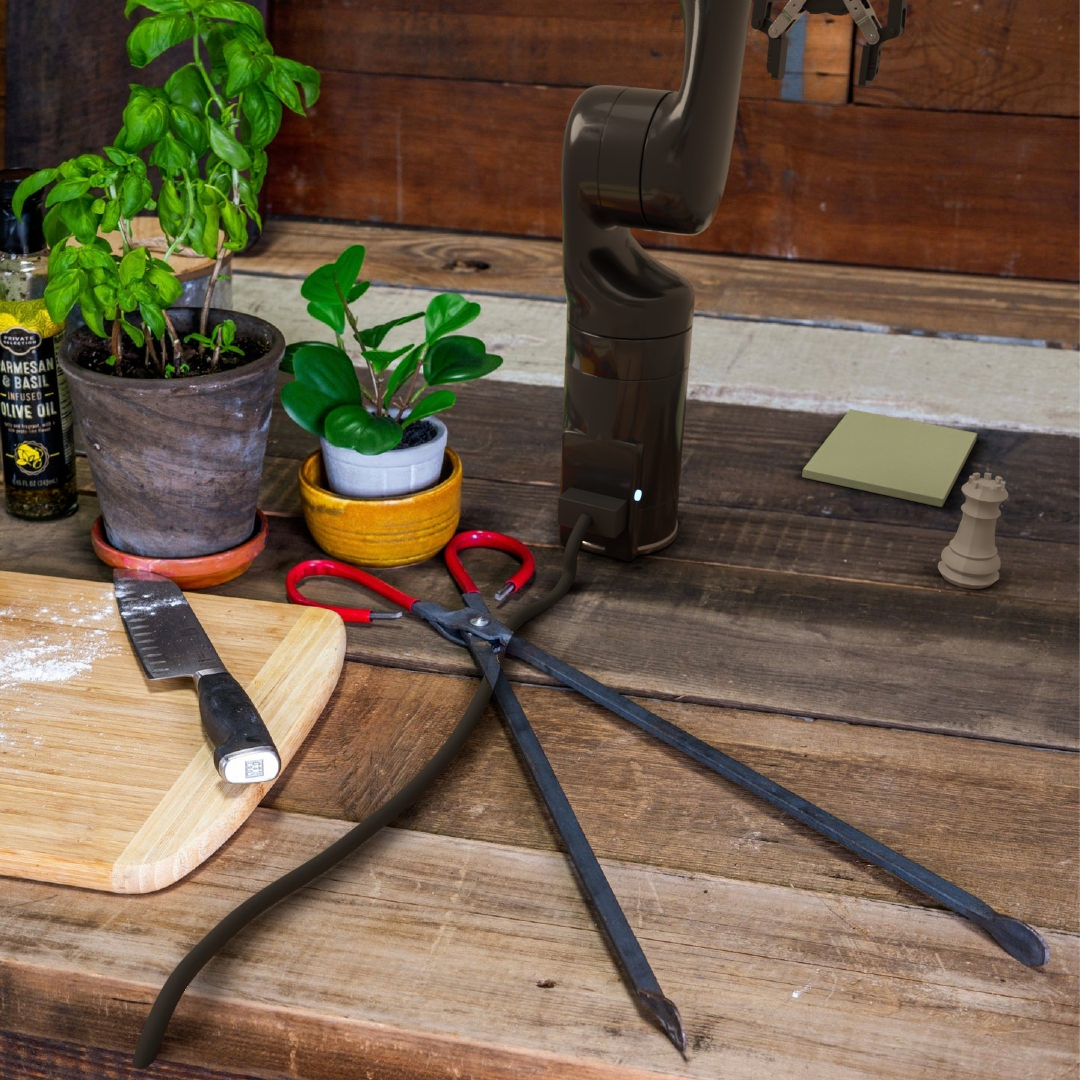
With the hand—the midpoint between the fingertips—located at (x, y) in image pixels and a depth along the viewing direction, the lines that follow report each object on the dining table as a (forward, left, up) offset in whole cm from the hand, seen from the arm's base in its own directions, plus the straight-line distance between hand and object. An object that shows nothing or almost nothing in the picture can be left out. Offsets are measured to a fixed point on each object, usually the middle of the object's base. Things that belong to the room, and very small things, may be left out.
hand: (820, 82), depth 121 cm
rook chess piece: (-39, -26, -29) cm, 55 cm away
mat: (-20, -16, -29) cm, 38 cm away
